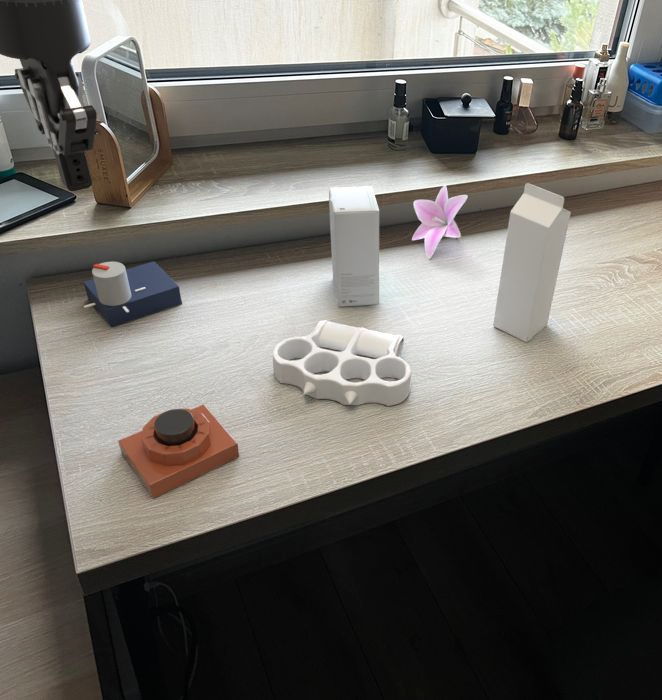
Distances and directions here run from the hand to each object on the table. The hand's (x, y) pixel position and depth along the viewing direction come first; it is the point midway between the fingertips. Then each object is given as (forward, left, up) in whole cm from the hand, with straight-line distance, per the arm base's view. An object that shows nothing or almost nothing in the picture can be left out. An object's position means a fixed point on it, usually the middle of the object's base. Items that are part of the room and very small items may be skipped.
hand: (77, 186), depth 68 cm
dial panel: (+8, +20, -29) cm, 36 cm away
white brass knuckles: (+24, -9, -29) cm, 39 cm away
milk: (+51, -15, -29) cm, 61 cm away
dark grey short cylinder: (+1, -10, -25) cm, 27 cm away
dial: (+6, +19, -26) cm, 33 cm away
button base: (+1, -10, -29) cm, 31 cm away
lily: (+56, +10, -29) cm, 64 cm away
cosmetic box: (+36, +6, -29) cm, 47 cm away
